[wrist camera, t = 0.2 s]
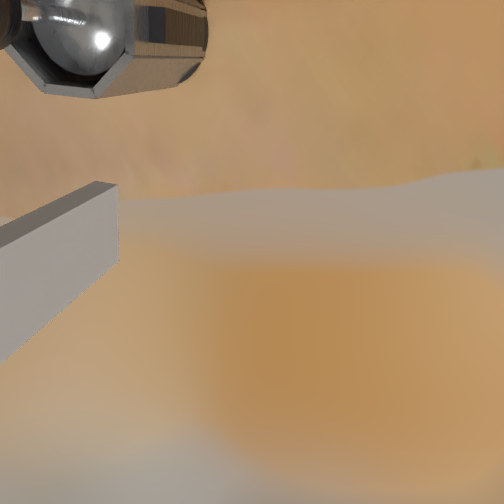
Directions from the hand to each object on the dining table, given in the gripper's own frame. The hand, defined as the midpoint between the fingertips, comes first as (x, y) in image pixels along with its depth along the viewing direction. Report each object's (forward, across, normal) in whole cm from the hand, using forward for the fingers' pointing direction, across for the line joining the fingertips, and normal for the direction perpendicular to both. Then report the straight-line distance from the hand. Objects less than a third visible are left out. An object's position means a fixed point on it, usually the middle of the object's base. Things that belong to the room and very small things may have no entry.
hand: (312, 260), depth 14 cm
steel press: (+28, -17, +6) cm, 33 cm away
